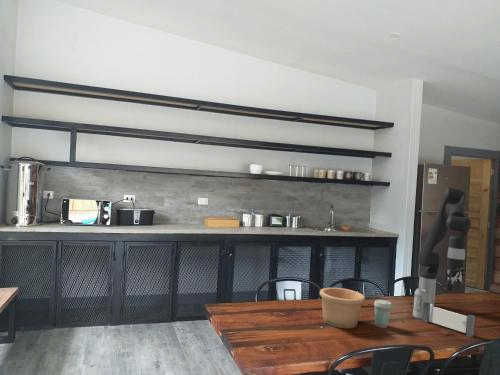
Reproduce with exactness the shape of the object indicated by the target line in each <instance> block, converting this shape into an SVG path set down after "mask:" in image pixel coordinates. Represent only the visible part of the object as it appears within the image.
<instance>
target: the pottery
mask: <svg viewBox="0 0 500 375" xmlns="http://www.w3.org/2000/svg"><path fill="white" fill-rule="evenodd" d="M319 296H320V297H321V306H322V307H321V309H322V310H321V311H322V320H323V322H324V323H325V324H327V325H329V326H331V327H335V328H338V329H339V328H340V329H354V328H357V327H358V322H359V317H360V313H361V308H362V304H363V303H364V302H365V298H366V296H365V295H364V294H363V293H360V292H359V291H355V290H352V289H348V288H342V287H341V288H340V287H326V288H321V289H320V290H319Z"/></svg>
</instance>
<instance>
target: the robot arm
mask: <svg viewBox="0 0 500 375" xmlns="http://www.w3.org/2000/svg"><path fill="white" fill-rule="evenodd" d="M467 196H468V195H467V192H466V191H465V190H463V189H459V188H456V187H451V186H447V187H446V188H445V190H444V192H443V195H442V197H441V200H440V203H439V206H438V210H437V212H436V214H435V217H434V219H433V222H432V224H431V226H430V229H429V231H428V234H427V236H426V238H425V242H424V243H423V244H422V247H421V249H420V251H419V252H418V255H417V261H418V264H419V265H420V266H421V267H426V268H425V269H423V270H421V271H419V277H418V279H419V283H418V287H417V288H416V289H424V290H426V293H427V299H426V302H428V303H430V304H434V305H435V300H436V299H435V297H436V286H437V285H436V284H437V276H438V274H439V268H440V261H441V260H440V254H439V253H438V252H437V251H434V249H435V248H436V246H437V245H439V244H440V243H442V242H443V241H444V240H445V239H446V238H447V235H448V233H449V231H455V232H461V233H460V234H456V235H450V236H449V239H448V250H447V258H446V259H447V260H446V265H447V267H449V269H445V274H444V275H445V276H444V282H445V283H447V286H446V291H447V292H453V288H454V287H453V285H454V282H455V290H457V291H460V290H462V282H464V281H465V262H466V240H467V236H468V233H469V231H470V228H471V226H472V222H471V220H470V218H468V217H466V211H465V210H466V204H467ZM448 204H449V205H452V206H450V208H449V213H448V212H447V205H448ZM448 214H449V216H448Z"/></svg>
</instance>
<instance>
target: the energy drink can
mask: <svg viewBox="0 0 500 375" xmlns="http://www.w3.org/2000/svg"><path fill="white" fill-rule="evenodd" d="M426 299H427V293H426V290H424V289H417V288H416V290H415V291H414V298H413V309H412V310H413V311H412V316H413V317H414V318H416V319H419V320H422V319H423V307H424V302H426Z"/></svg>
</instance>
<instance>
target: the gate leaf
mask: <svg viewBox="0 0 500 375" xmlns="http://www.w3.org/2000/svg"><path fill="white" fill-rule="evenodd" d="M467 319H468V315H464V314H461V313H457V312H454V311H452V310H451V311H450V310H447V309H443V308H440V307H438V306H437V307H436V306H435V303H434V304H430V311H429V322H428V323H433V324H435V325H439V326H443V327H445V328H449V329H452V330H455V331H457V332H461V333H464V334H466V331H467Z"/></svg>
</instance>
